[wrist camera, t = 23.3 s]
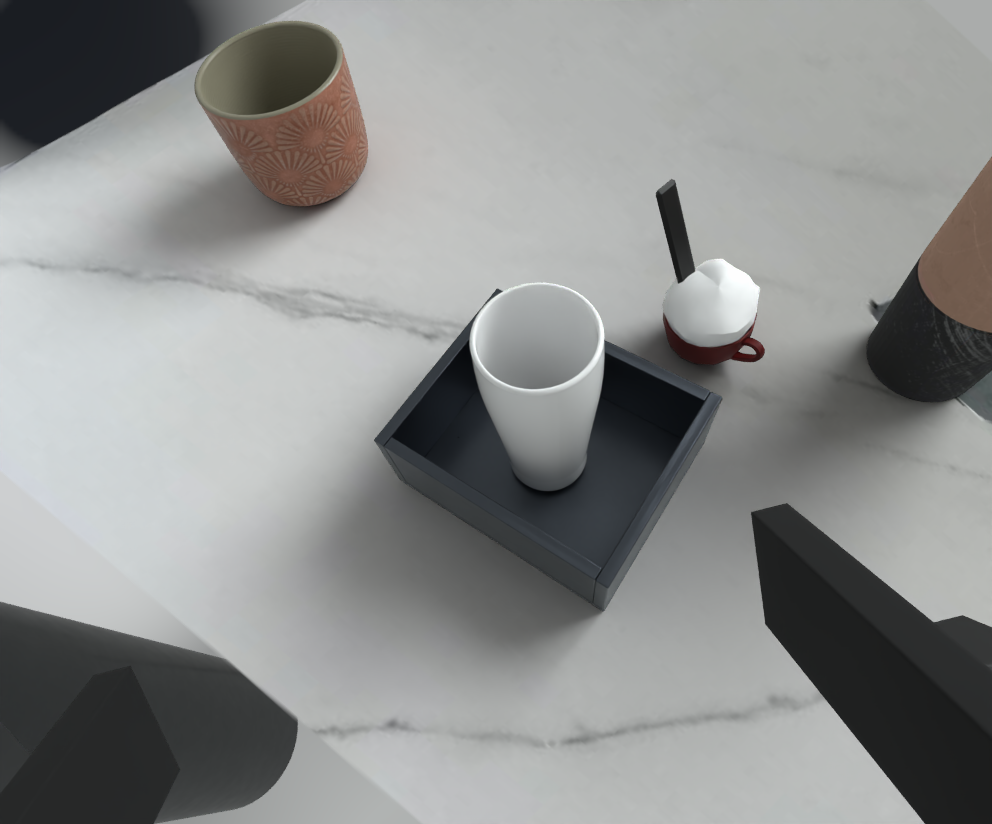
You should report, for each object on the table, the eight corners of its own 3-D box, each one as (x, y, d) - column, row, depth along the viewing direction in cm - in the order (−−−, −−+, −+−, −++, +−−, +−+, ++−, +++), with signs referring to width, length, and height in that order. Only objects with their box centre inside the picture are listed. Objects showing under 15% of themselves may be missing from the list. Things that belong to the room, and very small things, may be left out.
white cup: (570, 521, 42) (567, 417, 29) (481, 478, 44) (441, 362, 31) (613, 438, 44) (629, 306, 31) (527, 400, 47) (508, 263, 33)
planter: (353, 112, 65) (314, 2, 55) (398, 186, 59) (364, 78, 50) (239, 160, 63) (179, 55, 54) (274, 241, 58) (213, 140, 48)
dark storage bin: (399, 479, 46) (373, 440, 40) (506, 341, 50) (497, 287, 44) (603, 612, 40) (608, 588, 34) (703, 442, 44) (723, 396, 38)
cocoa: (769, 372, 46) (826, 260, 36) (689, 402, 46) (722, 298, 35) (705, 277, 51) (739, 153, 40) (632, 304, 50) (646, 186, 40)
